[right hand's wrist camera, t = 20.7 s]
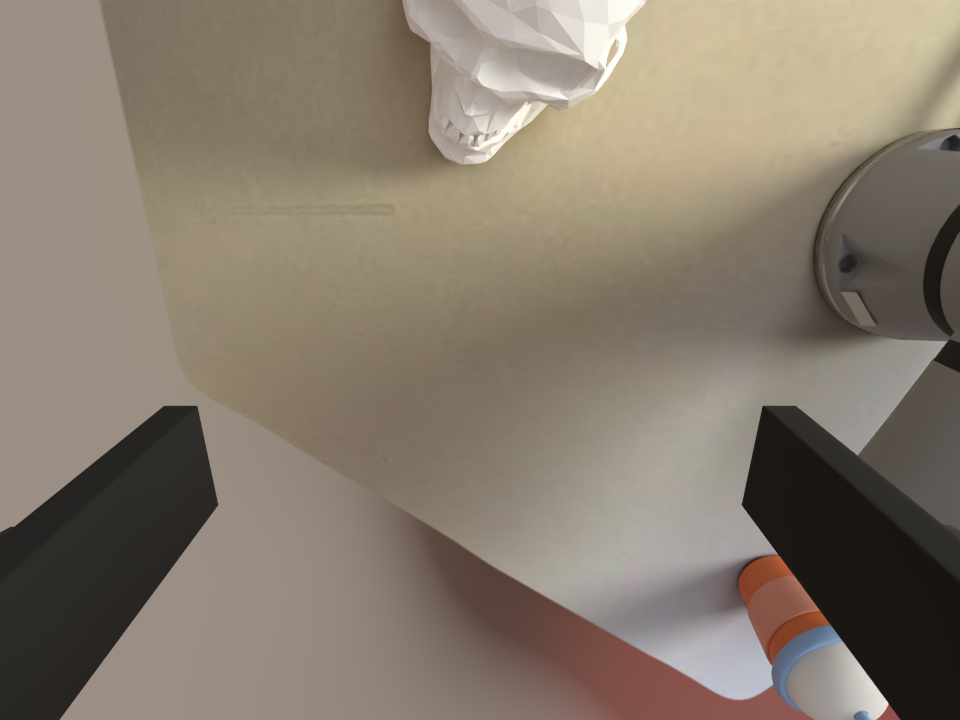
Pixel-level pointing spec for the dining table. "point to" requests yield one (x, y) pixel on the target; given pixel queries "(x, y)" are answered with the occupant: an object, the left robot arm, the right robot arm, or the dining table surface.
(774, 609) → the cup with straw
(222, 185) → the dining table surface
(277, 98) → the dining table surface
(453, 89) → the skull
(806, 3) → the dining table surface
